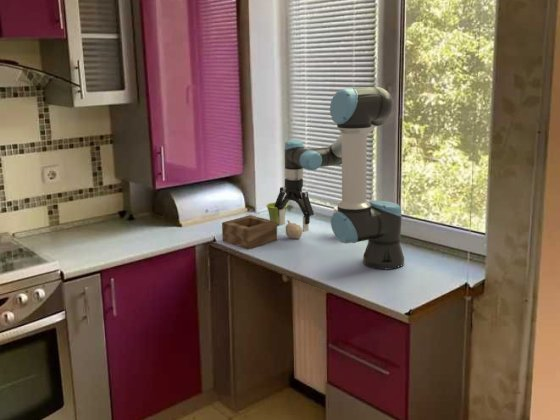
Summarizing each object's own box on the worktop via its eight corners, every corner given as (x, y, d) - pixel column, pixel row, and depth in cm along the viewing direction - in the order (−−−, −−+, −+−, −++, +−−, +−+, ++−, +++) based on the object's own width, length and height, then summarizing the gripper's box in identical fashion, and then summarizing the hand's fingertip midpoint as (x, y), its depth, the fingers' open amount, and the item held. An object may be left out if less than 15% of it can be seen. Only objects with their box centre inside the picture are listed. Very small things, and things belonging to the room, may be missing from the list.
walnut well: (277, 240, 268) (276, 222, 266) (248, 249, 257) (248, 230, 255) (250, 232, 279) (250, 214, 276) (222, 241, 268) (221, 222, 265)
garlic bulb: (294, 235, 275) (294, 217, 273) (305, 238, 270) (305, 220, 268) (283, 238, 271) (282, 220, 269) (293, 241, 266) (293, 223, 264)
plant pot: (280, 227, 286) (280, 208, 284) (262, 224, 291) (262, 205, 288) (291, 222, 294) (291, 204, 291) (273, 219, 298) (273, 201, 296)
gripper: (322, 181, 258) (322, 232, 264) (278, 172, 275) (278, 219, 280) (310, 184, 253) (309, 236, 258) (265, 174, 270) (266, 223, 275)
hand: (293, 227), depth 269 cm, fingers open, 13 cm apart
